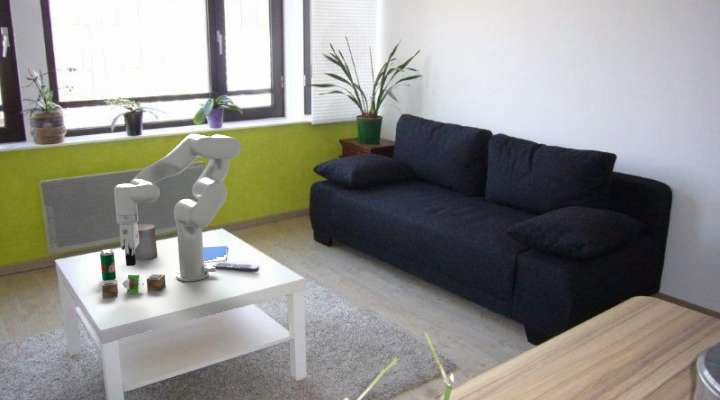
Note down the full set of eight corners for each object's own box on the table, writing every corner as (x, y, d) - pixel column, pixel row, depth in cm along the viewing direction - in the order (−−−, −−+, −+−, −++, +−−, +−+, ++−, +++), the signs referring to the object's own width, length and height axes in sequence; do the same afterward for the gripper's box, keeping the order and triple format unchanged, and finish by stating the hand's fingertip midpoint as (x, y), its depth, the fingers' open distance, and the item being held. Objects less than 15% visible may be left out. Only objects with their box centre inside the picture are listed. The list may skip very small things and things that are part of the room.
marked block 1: (117, 292, 241) (116, 278, 240) (117, 296, 237) (116, 283, 236) (103, 293, 240) (102, 280, 239) (102, 298, 235) (101, 285, 234)
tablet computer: (227, 262, 275) (226, 259, 275) (196, 264, 273) (196, 261, 273) (228, 248, 294) (228, 245, 293) (200, 249, 292) (199, 247, 291)
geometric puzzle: (129, 281, 246) (123, 270, 240) (147, 281, 246) (141, 270, 240) (124, 297, 242) (118, 286, 235) (142, 297, 241) (136, 286, 235)
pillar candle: (148, 251, 287) (145, 219, 283) (162, 255, 281) (159, 223, 278) (129, 257, 279) (125, 224, 276) (143, 262, 274) (139, 228, 270)
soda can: (111, 282, 250) (108, 253, 247) (99, 281, 251) (97, 252, 248) (118, 278, 255) (116, 249, 252) (107, 277, 256) (104, 248, 253)
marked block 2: (165, 287, 246) (164, 274, 245) (160, 291, 242) (159, 278, 240) (153, 286, 247) (152, 273, 246) (147, 291, 242) (146, 278, 241)
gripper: (133, 223, 228) (137, 271, 232) (141, 212, 242) (145, 258, 246) (111, 223, 227) (116, 272, 231) (121, 212, 241) (124, 259, 245)
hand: (131, 265), depth 239 cm, fingers closed
